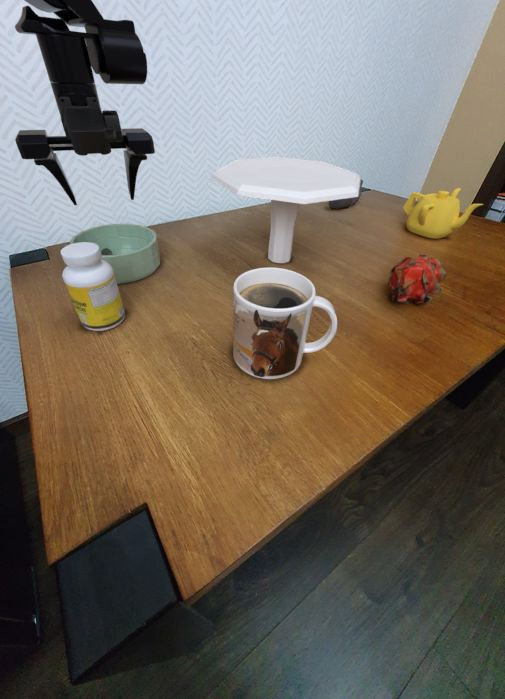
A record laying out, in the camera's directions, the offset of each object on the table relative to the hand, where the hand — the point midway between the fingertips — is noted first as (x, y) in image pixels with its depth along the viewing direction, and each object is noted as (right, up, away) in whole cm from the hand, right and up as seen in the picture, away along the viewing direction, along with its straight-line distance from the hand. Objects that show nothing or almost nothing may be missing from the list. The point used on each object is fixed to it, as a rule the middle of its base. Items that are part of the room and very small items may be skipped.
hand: (104, 201), depth 53 cm
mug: (+29, -27, -10) cm, 41 cm away
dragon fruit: (+54, -16, +3) cm, 57 cm away
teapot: (+73, +6, +29) cm, 79 cm away
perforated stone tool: (+53, +18, +42) cm, 70 cm away
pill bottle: (+2, -21, -5) cm, 22 cm away
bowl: (-1, -9, +8) cm, 12 cm away
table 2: (+31, -6, +14) cm, 35 cm away
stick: (-1, -8, +6) cm, 10 cm away
